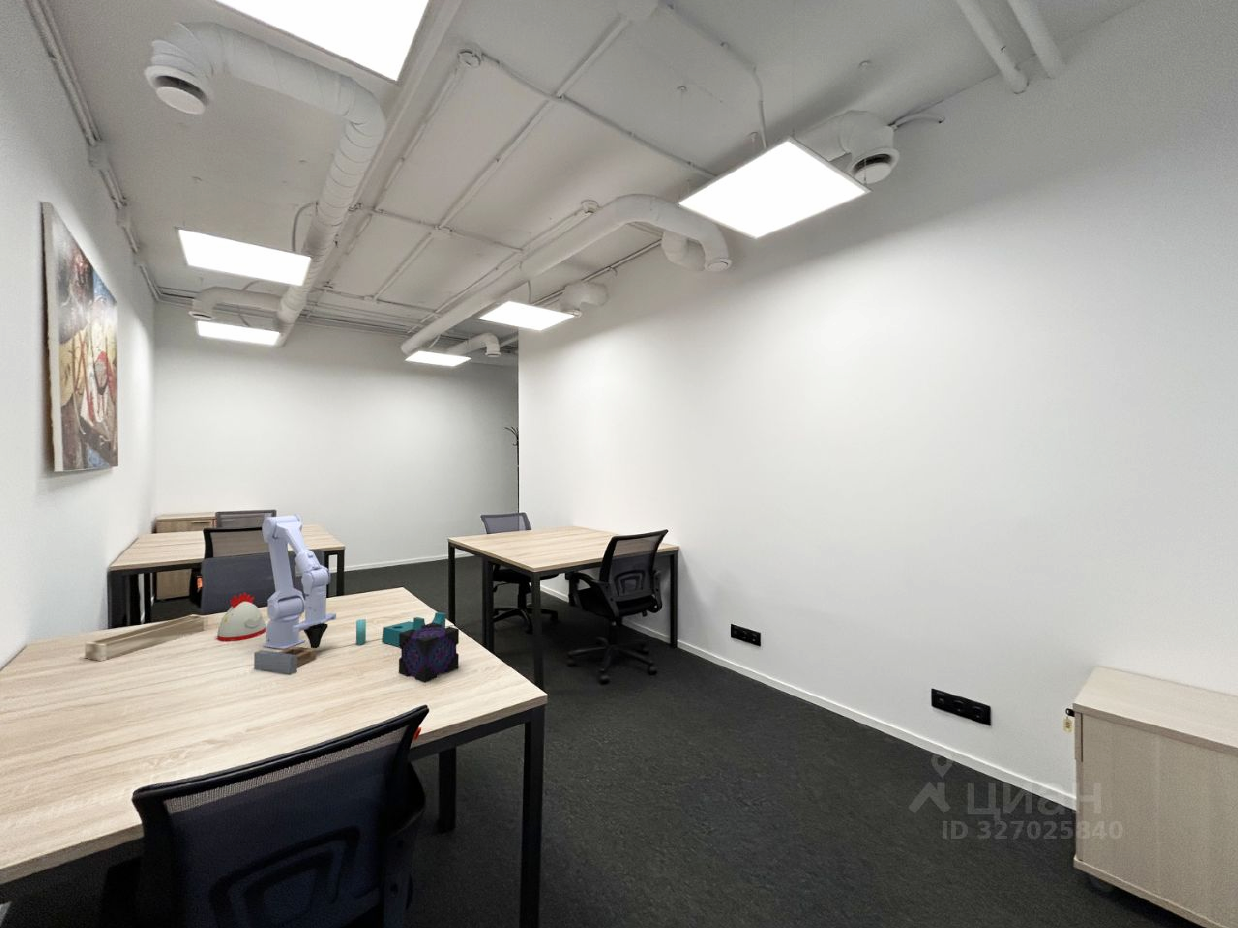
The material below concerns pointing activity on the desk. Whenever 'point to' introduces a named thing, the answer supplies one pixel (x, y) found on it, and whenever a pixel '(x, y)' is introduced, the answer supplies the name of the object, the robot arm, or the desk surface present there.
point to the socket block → (301, 654)
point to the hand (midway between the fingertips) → (315, 647)
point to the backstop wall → (275, 662)
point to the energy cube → (428, 651)
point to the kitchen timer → (241, 621)
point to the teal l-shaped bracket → (408, 628)
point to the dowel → (360, 631)
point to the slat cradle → (144, 637)
